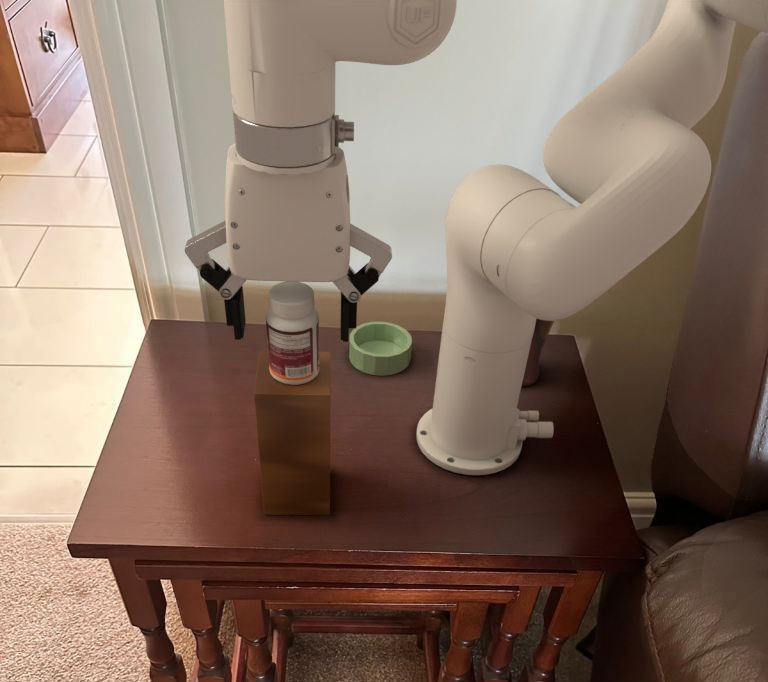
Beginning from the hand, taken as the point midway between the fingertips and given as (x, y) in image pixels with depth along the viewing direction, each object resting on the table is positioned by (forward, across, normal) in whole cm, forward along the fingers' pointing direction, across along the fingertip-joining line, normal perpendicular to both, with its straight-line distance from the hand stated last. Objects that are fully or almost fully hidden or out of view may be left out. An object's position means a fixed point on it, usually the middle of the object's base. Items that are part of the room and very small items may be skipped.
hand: (292, 332), depth 71 cm
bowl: (+20, -10, -26) cm, 35 cm away
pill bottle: (+5, 0, 0) cm, 5 cm away
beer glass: (+21, -28, -23) cm, 42 cm away
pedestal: (+20, 0, 0) cm, 20 cm away
